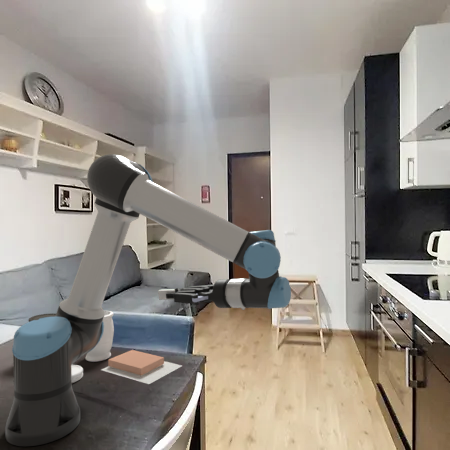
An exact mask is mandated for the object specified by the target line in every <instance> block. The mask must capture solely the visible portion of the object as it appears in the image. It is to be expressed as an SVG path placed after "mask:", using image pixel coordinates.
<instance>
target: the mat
mask: <svg viewBox="0 0 450 450" xmlns="http://www.w3.org/2000/svg"><path fill="white" fill-rule="evenodd" d="M181 367H183V365H181V364H177V363H174V362H169V361H165V360H164V364H163V365H162V366H160V367H158V368H156V369H154V370H152V371H150V372H148V373H146V374H145V375H143V376H139V375H135V374H132V373H128V372H125V371H121V370H118V369H114V368H111V367H110V366H105V367H104V368H101V369H100V371H103V372H106V373H110V374H112V375H116V376H119V377H123V378H126V379H130V380H134V381H137V382H139V383H143V384H146V385H151V384H152V383H154V382H156V381H158V380H159V379H162V378H163V377H165V376H167V375H169V374H170V373H172V372H174V371H177V369H180V368H181Z"/></svg>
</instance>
